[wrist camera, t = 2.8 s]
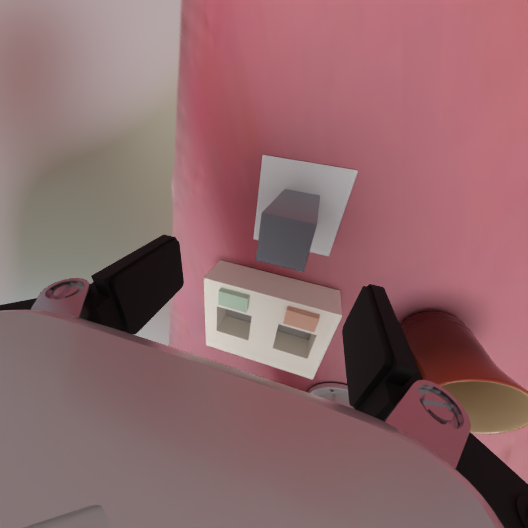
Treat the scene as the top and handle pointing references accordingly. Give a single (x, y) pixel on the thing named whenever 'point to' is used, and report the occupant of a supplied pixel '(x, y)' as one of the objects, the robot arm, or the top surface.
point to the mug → (466, 372)
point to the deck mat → (308, 181)
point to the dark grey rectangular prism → (288, 229)
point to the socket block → (270, 317)
